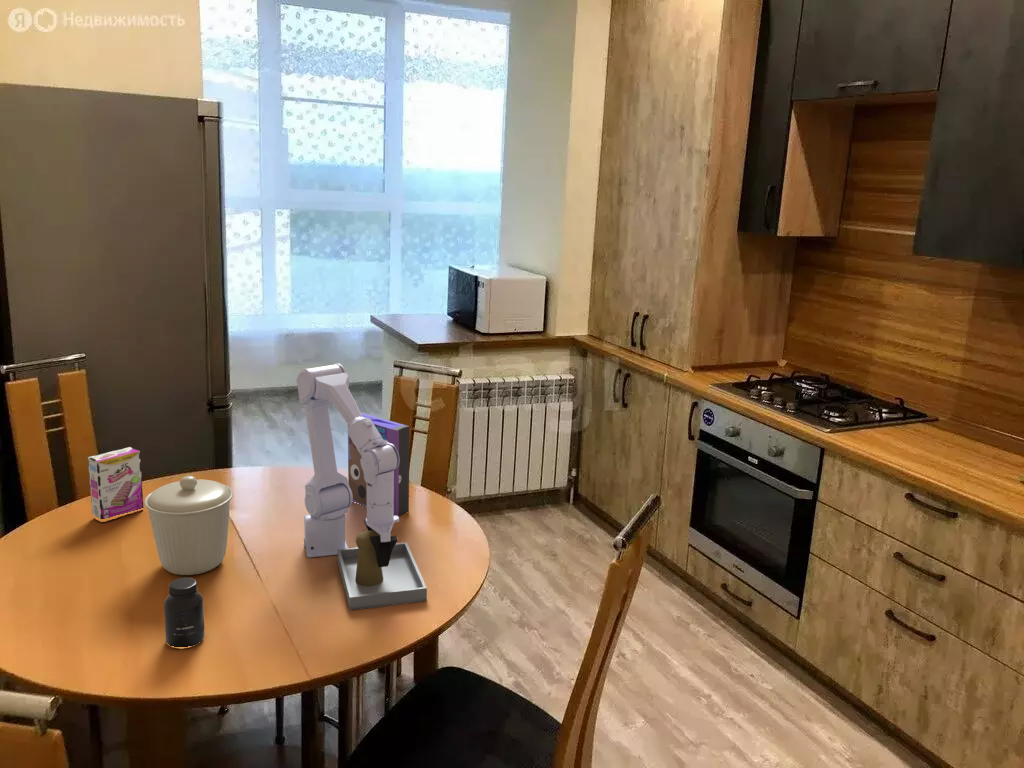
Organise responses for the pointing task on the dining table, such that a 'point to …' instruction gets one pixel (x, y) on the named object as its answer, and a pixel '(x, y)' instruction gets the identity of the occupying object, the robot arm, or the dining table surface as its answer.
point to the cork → (367, 561)
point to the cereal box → (400, 440)
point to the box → (397, 583)
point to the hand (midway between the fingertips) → (380, 557)
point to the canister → (190, 524)
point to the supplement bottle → (184, 613)
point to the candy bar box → (115, 482)
